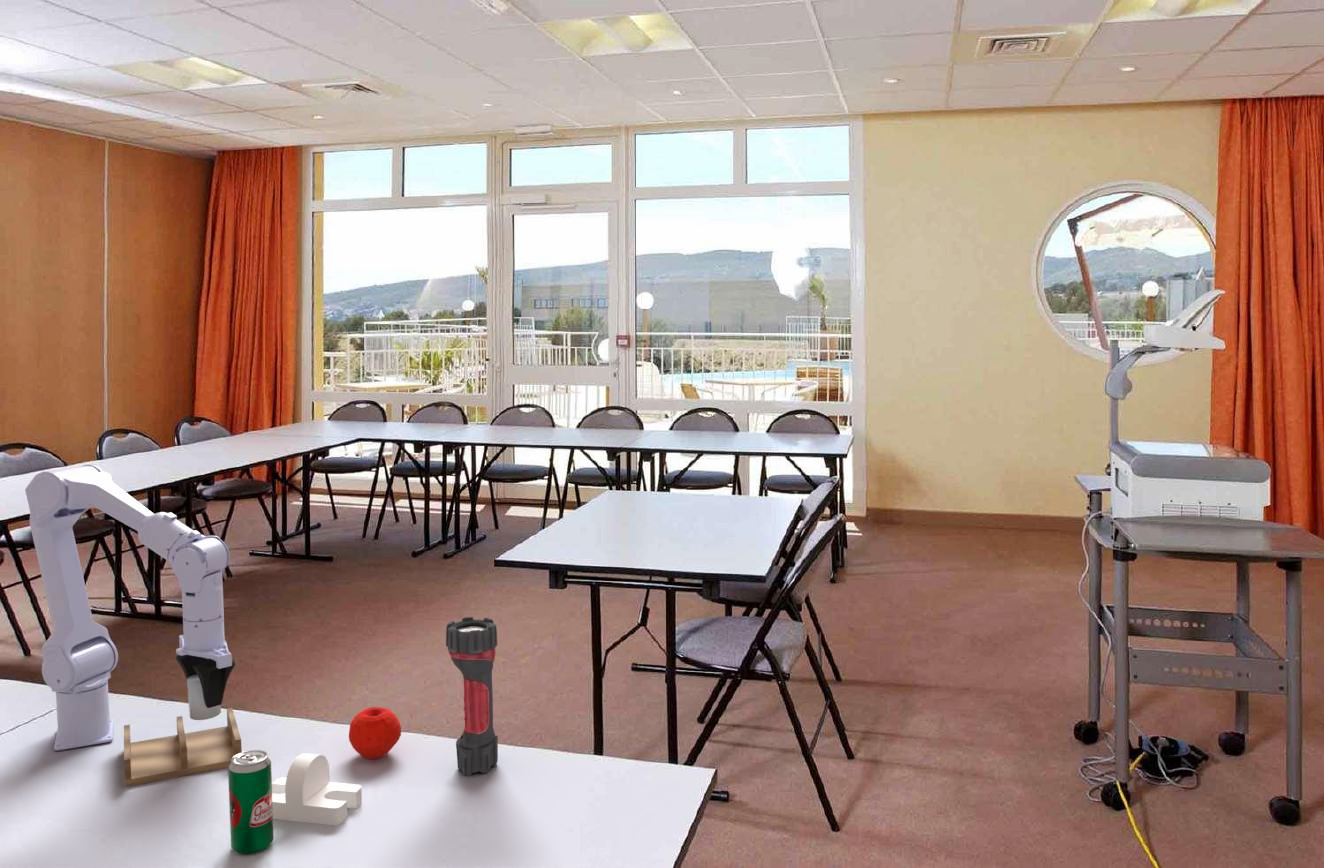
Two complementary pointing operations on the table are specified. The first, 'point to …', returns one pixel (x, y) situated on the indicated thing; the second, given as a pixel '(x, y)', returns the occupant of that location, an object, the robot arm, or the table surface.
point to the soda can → (250, 802)
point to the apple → (374, 732)
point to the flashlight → (475, 691)
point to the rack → (180, 752)
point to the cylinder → (199, 701)
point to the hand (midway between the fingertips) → (207, 701)
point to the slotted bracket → (313, 793)
